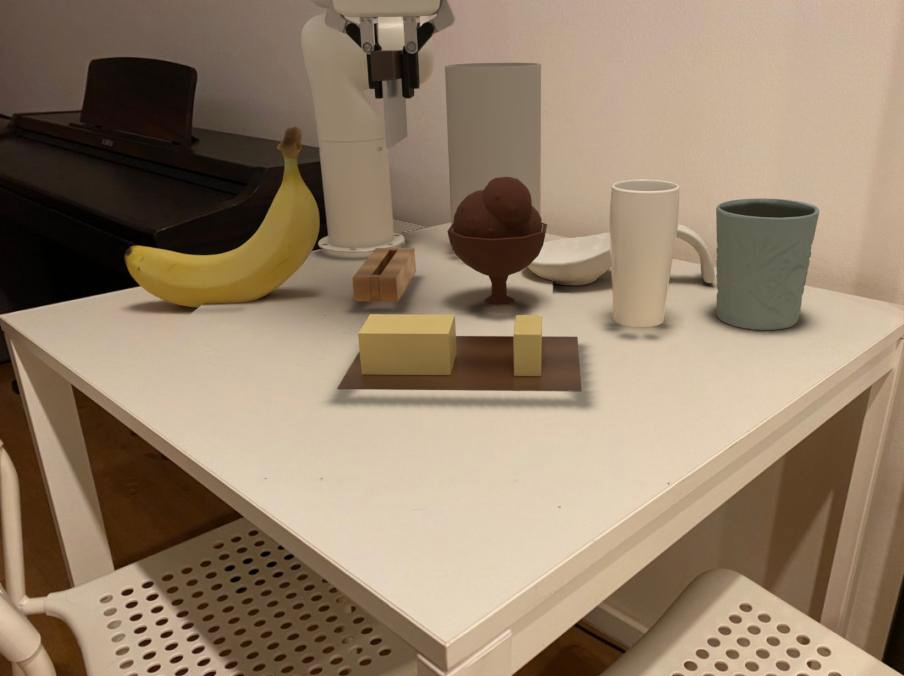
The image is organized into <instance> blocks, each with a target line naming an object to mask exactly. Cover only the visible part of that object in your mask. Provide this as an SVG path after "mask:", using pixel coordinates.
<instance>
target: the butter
mask: <svg viewBox="0 0 904 676" xmlns="http://www.w3.org/2000/svg"><path fill="white" fill-rule="evenodd" d="M456 328H457V327H456V315H455V314H400V313H399V314H398V313H397V314H394V313H393V314H390V313H389V314H387V313H386V314H384V313H382V314H381V313H380V314H378V313H376V314H375V313H373V314H371V313H369V315H368V317H367V318H366V319H365V321H364V323H363V324H362V326H361V327H360V329H359V331H358V332H357V340H358V348H359V349H358V350H359V351H360V361H361V372H362V375H451V371H452V368H453V365H454V361H455V358H456V355H457V351H456V336H457V331H456V330H457V329H456Z"/></svg>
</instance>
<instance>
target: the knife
mask: <svg viewBox="0 0 904 676" xmlns="http://www.w3.org/2000/svg"><path fill="white" fill-rule="evenodd" d="M370 54H371V69H372V81H382V87H383V98H382V99H383V100H382V102H383V118H384V120H385V136H386V148H388V149H391V148H393V147H394V146H396V145H397V144H399V143H400V142H402V141H403V140H404V139H406V138H408V119H407V118H408V116H407V99H405V98H404V97H403V96H402V82H401V78H402V73H401V55H402V54H403V49H396V50H378V51H370Z"/></svg>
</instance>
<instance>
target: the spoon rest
mask: <svg viewBox="0 0 904 676" xmlns="http://www.w3.org/2000/svg"><path fill="white" fill-rule="evenodd" d="M676 238H678V239H680V240H682V241H684V242H686V243H687V244H689V245H690V246H691V247H693V249H694V250H695V251H696V253H697V254H698V257H699V261H700V274H701V278H702V280H703V281H704V282H705V283H706V284H707V283H708V284H712V283H714V281H715V266H714V261H713V257H712V255H711V253H710V251H709V248H708V247H707V244H706V243H705V241H704V240H703V238H702V237H701V236H700V235H699V234H698V233H697V232H695V231H694V230H692V229H691V228H689V227H687V226H685V225H682V224H680V223H678V228H677V235H676ZM527 267H528V269H529V270H530V271H531V272H532V273H533V274H535V275H536V276H537V277H540V278H541V279H545V280H549V281H552V283H553V284H555V285H561V286H583V285H589V284H592V283H594V282H596V281H597V280H598V279H599V277H601V276H602V275H604V274H605V273H606V272H607V271H608V270H610V269H611V252H610V231H608V232H603V233H597V234H591V235H585V236H584V235H583V236H577V237H567V238H561V239H560V238H559V239H553V240H548V241H544V244H543V247H542V249H541V251H540V253H539V256H538V257H537V258H536V259H535V260H534V261H533V262H532V263H531V264H530V265H529V266H527Z"/></svg>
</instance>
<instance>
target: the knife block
mask: <svg viewBox="0 0 904 676" xmlns="http://www.w3.org/2000/svg"><path fill="white" fill-rule="evenodd" d="M416 267H417V266H416V249H415V247H393V248H375V250H374V251H371V253H370V254H369V256H368V257H367V259H366V260H365V261H364V262H363V263H362V264H361V266H360V267H359V269H358V270H357V271H356V272H355V273H354V275H353V276H352V277H351V278H352V290H353V299H354V300H353V301H354V302H399V300H400V299H401V298H402V297H403V295H404V293H406V290H407V288H408V286H409V285H410V283H411V281H412V279H413V277H414V276H415V274H416V272H417V268H416Z"/></svg>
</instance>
